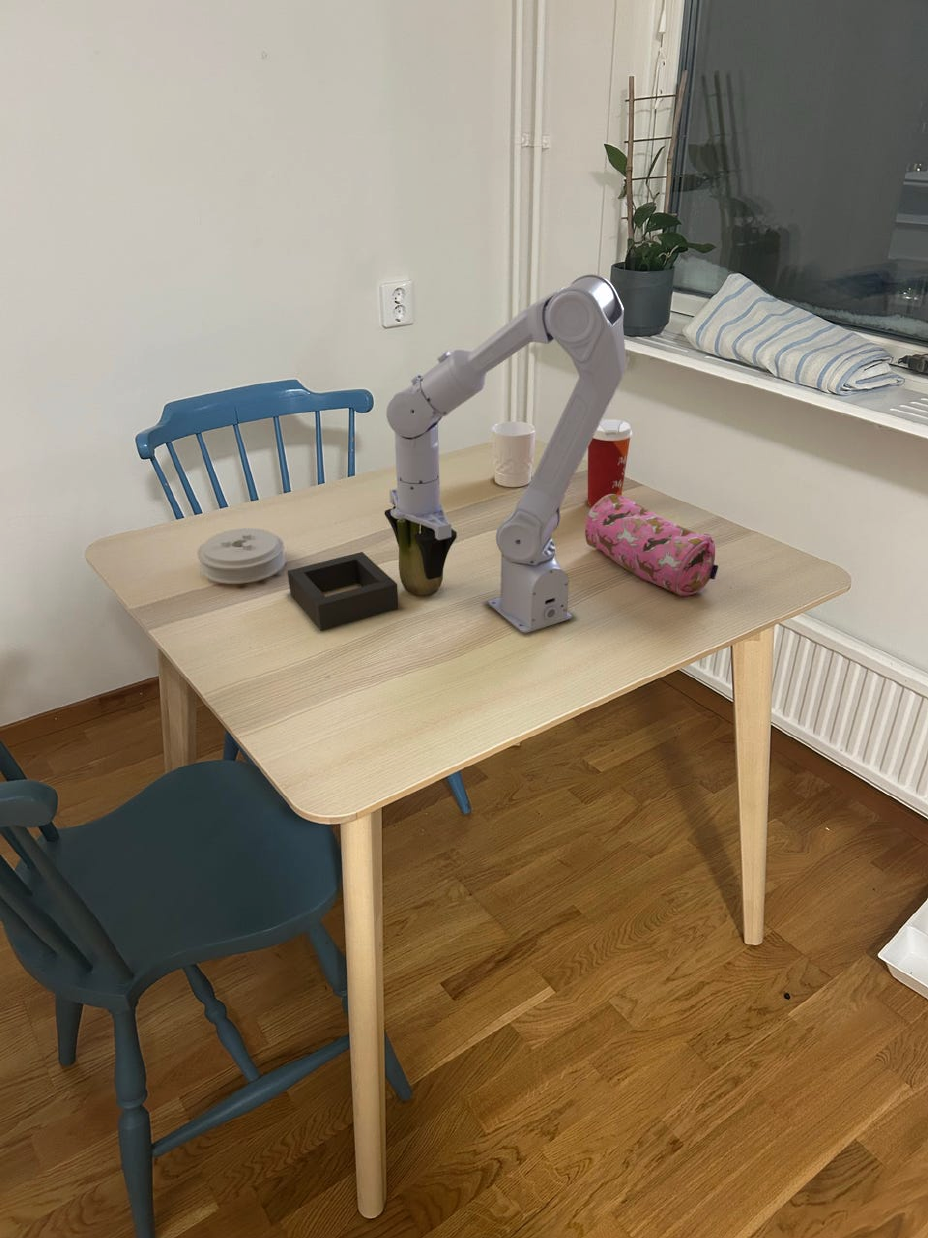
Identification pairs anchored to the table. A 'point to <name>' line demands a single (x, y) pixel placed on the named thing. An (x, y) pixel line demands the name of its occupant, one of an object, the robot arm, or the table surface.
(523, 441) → the white cup
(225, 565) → the lid
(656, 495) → the table surface
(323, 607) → the holder
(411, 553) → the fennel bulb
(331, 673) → the table surface
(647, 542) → the pencil case
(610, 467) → the paper cup
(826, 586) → the table surface
